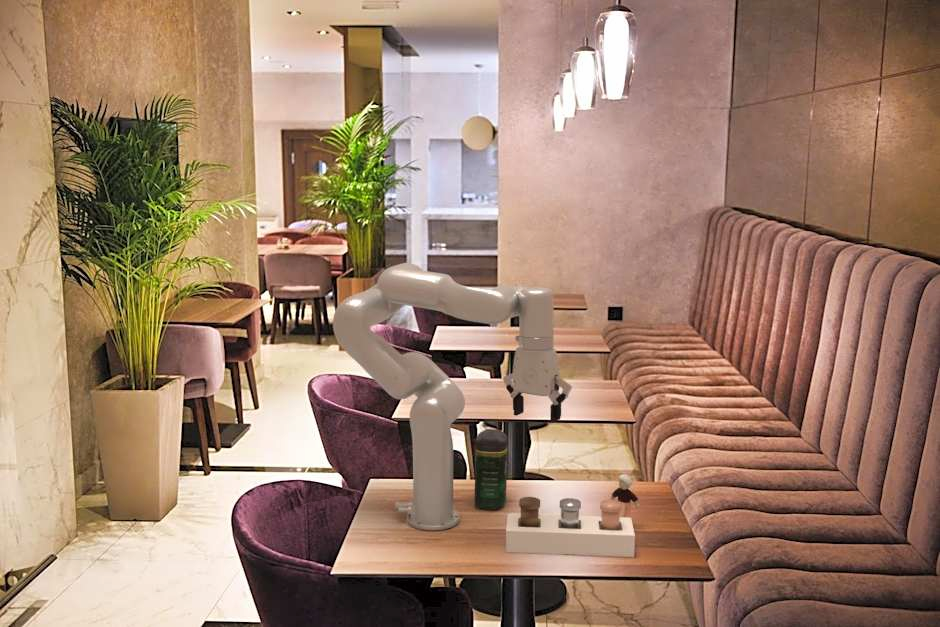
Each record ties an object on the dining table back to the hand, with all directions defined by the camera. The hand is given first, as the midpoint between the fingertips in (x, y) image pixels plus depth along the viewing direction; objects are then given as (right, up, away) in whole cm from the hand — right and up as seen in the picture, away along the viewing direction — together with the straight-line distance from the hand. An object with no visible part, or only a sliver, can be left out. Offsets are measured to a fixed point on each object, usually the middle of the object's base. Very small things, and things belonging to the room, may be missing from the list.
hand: (536, 417), depth 217 cm
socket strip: (+7, -29, 0) cm, 30 cm away
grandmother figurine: (+21, -27, +10) cm, 36 cm away
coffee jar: (-10, -24, +24) cm, 35 cm away
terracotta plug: (+16, -25, -2) cm, 30 cm away
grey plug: (+7, -25, -1) cm, 26 cm away
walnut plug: (-2, -24, 0) cm, 24 cm away
